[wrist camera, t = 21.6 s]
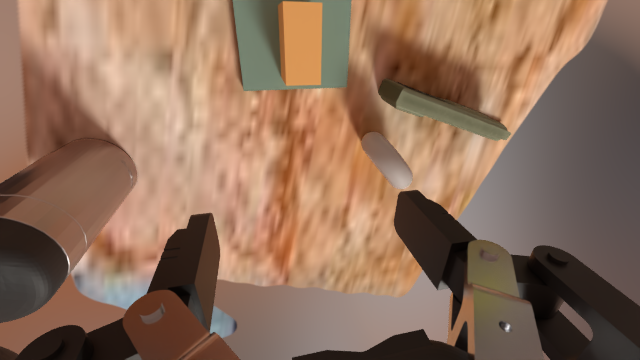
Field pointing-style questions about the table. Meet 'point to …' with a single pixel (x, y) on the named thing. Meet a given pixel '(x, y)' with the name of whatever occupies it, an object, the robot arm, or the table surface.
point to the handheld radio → (441, 110)
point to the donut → (387, 160)
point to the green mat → (264, 46)
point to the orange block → (300, 42)
